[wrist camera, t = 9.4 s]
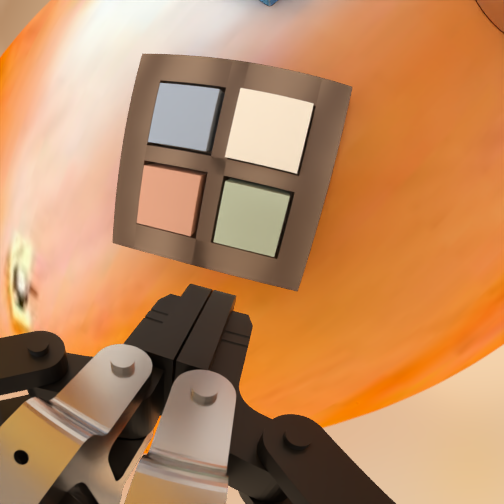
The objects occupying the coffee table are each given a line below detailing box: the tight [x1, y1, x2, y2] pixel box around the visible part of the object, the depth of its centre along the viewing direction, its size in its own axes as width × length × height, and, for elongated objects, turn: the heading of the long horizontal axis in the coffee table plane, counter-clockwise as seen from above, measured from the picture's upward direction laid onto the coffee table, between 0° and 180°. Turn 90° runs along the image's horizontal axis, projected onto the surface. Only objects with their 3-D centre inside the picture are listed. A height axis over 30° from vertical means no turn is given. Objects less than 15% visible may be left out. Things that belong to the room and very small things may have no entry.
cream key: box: [225, 88, 314, 174], centre depth 19 cm, size 5×5×2 cm
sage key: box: [213, 178, 290, 257], centre depth 23 cm, size 5×5×2 cm
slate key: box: [148, 83, 225, 151], centre depth 21 cm, size 5×5×2 cm
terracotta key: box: [137, 163, 207, 236], centre depth 23 cm, size 5×5×2 cm
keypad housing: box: [113, 54, 352, 291], centre depth 23 cm, size 16×16×4 cm
